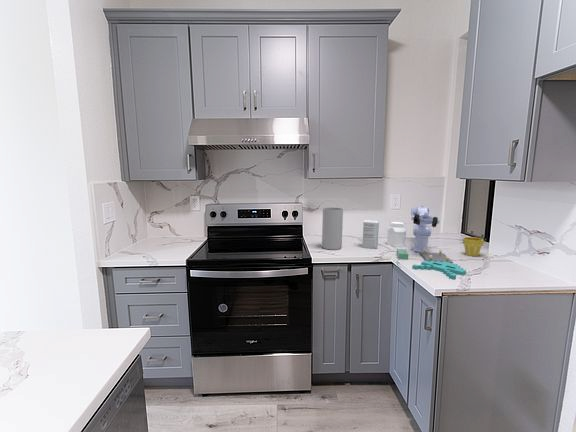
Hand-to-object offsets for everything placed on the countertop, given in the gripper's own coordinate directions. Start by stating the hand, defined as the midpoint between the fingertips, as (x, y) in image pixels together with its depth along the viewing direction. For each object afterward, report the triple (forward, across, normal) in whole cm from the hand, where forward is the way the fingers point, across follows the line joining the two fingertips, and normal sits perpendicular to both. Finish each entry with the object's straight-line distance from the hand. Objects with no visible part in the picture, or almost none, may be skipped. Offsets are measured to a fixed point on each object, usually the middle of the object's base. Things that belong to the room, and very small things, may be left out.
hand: (426, 224), depth 167 cm
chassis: (-2, +8, +20) cm, 22 cm away
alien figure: (+19, +8, +17) cm, 27 cm away
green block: (+1, -9, +21) cm, 23 cm away
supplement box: (-17, -28, +26) cm, 42 cm away
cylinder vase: (-6, -51, +27) cm, 58 cm away
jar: (-27, -12, +26) cm, 40 cm away
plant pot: (-18, +30, +20) cm, 40 cm away
